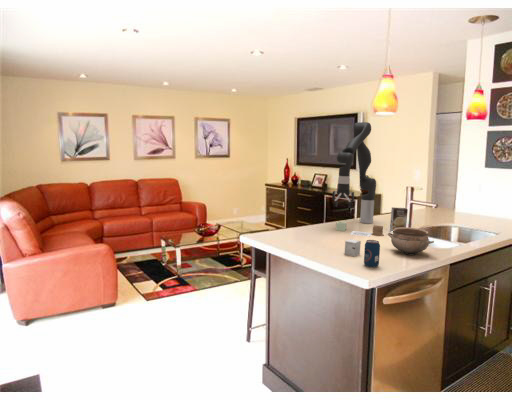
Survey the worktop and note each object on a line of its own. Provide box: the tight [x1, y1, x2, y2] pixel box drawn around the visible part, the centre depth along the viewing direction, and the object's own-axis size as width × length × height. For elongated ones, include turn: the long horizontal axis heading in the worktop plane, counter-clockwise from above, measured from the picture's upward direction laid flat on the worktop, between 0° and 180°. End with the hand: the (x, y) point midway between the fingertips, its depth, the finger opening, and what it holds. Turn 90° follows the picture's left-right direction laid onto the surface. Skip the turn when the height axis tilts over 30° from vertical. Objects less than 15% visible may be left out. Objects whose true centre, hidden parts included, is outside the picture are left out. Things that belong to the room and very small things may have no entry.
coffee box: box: [389, 206, 409, 232], centre depth 262 cm, size 9×6×16 cm
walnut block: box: [371, 224, 384, 237], centre depth 252 cm, size 6×6×6 cm
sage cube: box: [335, 221, 347, 232], centre depth 264 cm, size 6×6×6 cm
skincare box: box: [344, 238, 362, 257], centre depth 206 cm, size 6×6×7 cm
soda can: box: [363, 239, 381, 269], centre depth 187 cm, size 7×7×12 cm
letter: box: [348, 230, 373, 238], centre depth 255 cm, size 12×13×1 cm
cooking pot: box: [387, 226, 435, 255], centre depth 210 cm, size 25×19×12 cm
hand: (342, 206), depth 262 cm, fingers open, 8 cm apart
